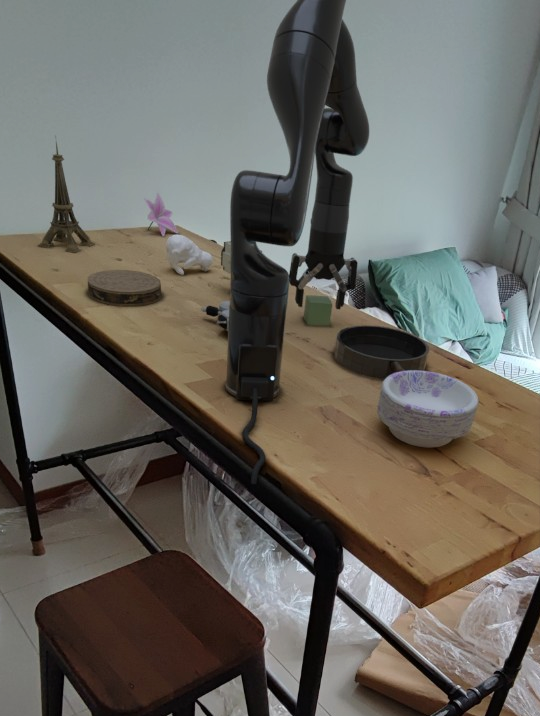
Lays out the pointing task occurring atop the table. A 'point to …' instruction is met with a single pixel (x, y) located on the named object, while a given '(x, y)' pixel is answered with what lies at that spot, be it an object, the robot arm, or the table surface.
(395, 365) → the pan handle
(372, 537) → the table surface
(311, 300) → the cube
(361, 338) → the pan
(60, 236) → the eiffel tower
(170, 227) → the lily
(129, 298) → the wood log slice
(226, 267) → the pneumatic valve
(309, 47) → the robot arm
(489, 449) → the table surface
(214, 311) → the robot toy
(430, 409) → the paper bowls
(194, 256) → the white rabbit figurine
